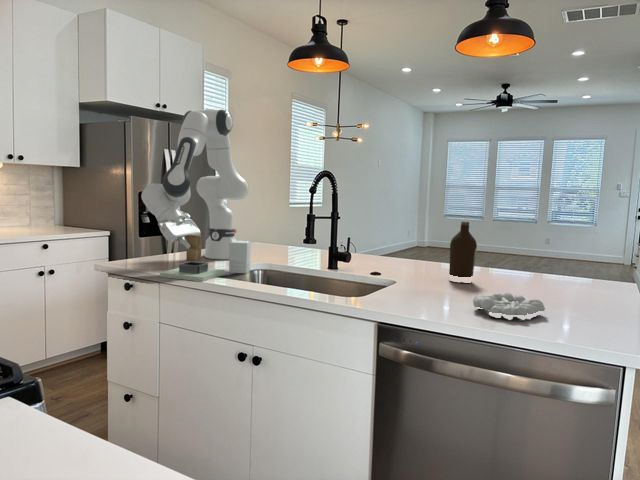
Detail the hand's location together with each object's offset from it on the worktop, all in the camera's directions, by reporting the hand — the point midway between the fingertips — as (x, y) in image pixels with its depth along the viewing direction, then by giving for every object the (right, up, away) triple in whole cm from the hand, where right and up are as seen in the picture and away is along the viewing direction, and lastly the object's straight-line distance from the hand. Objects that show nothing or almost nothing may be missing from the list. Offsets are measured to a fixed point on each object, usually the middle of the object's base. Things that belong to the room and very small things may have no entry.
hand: (193, 246), depth 191 cm
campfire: (+107, -21, -36) cm, 115 cm away
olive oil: (+107, -15, +16) cm, 110 cm away
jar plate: (0, -11, +1) cm, 11 cm away
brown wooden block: (0, -5, +1) cm, 5 cm away
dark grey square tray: (0, -10, +1) cm, 10 cm away
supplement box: (+16, -11, +13) cm, 23 cm away
